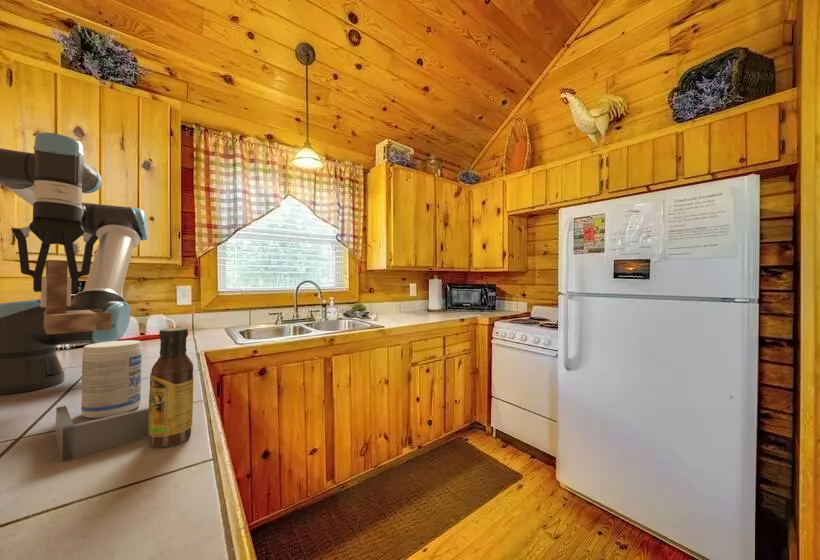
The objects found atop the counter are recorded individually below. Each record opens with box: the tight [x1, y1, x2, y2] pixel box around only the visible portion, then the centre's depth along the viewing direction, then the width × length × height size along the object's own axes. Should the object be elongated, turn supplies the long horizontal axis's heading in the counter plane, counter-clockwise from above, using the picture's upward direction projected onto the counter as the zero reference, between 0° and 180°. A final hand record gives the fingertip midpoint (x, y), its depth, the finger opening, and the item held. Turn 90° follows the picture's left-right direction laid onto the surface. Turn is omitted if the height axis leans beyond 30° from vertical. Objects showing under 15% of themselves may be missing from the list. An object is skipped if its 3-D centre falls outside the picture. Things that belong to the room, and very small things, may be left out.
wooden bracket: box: [44, 259, 112, 334], centre depth 76 cm, size 10×13×16 cm
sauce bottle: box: [148, 326, 195, 448], centre depth 57 cm, size 6×6×20 cm
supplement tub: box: [80, 339, 142, 419], centre depth 70 cm, size 10×10×15 cm
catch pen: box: [54, 405, 150, 462], centre depth 61 cm, size 14×17×5 cm
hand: (55, 306), depth 73 cm, fingers closed on wooden bracket, 3 cm apart
